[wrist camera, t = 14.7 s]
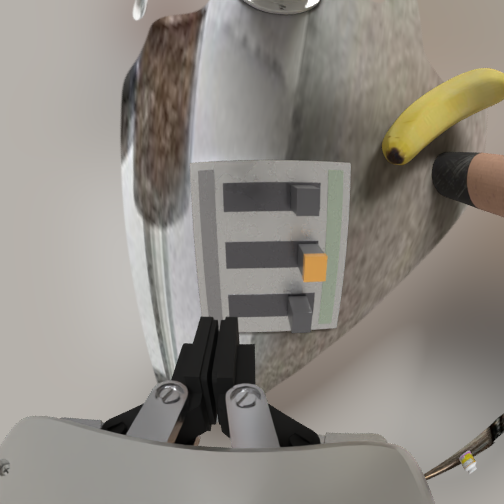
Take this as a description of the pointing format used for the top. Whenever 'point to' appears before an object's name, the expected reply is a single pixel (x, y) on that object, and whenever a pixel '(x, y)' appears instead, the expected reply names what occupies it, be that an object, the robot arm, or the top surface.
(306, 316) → the breaker far
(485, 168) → the travel mug
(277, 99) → the top surface
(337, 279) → the panel
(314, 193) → the block
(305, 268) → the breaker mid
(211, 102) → the top surface
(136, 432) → the robot arm
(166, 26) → the top surface
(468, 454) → the supplement bottle
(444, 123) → the banana
